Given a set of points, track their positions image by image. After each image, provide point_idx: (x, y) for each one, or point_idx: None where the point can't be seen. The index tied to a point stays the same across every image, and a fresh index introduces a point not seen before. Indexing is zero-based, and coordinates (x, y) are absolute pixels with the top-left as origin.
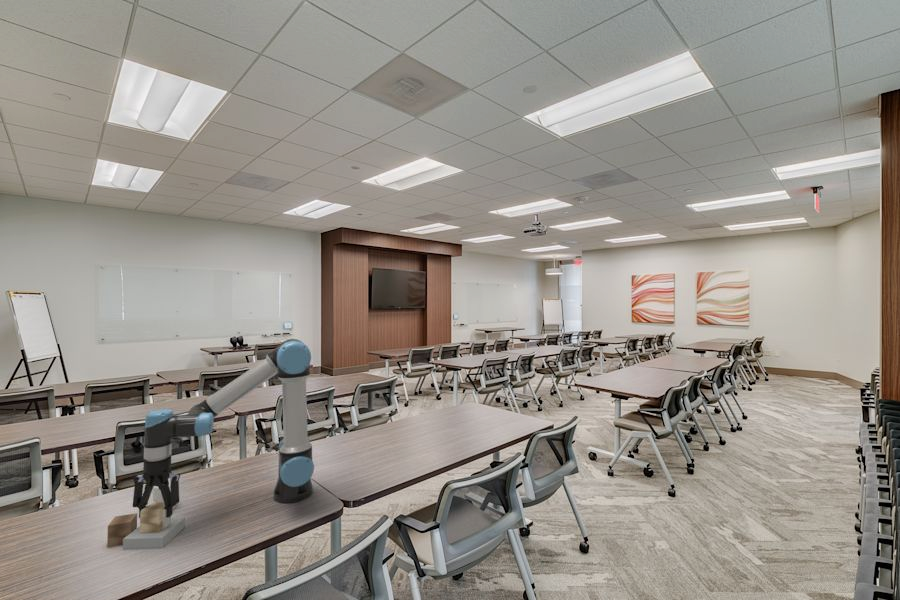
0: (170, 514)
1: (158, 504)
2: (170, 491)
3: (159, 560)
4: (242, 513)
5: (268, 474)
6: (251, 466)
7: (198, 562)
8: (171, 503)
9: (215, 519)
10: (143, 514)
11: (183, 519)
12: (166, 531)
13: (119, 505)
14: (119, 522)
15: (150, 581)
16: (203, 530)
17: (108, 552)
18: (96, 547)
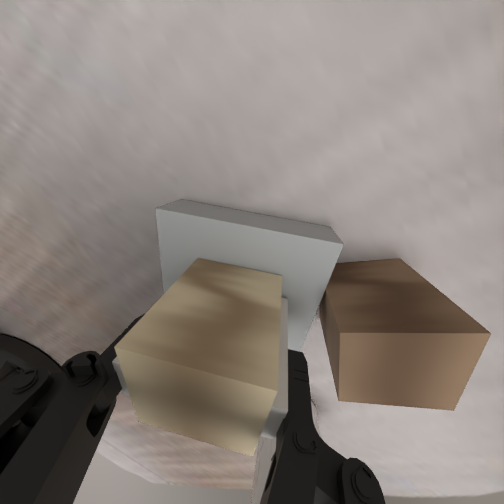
0: (131, 326)
1: (195, 424)
2: (263, 478)
3: (133, 95)
4: (76, 326)
5: (136, 438)
6: (187, 469)
7: None
8: (25, 398)
9: (124, 320)
10: (253, 353)
11: None
12: (171, 257)
13: (421, 456)
14: (413, 348)
15: None
16: (117, 275)
17: (384, 219)
18: (446, 271)
